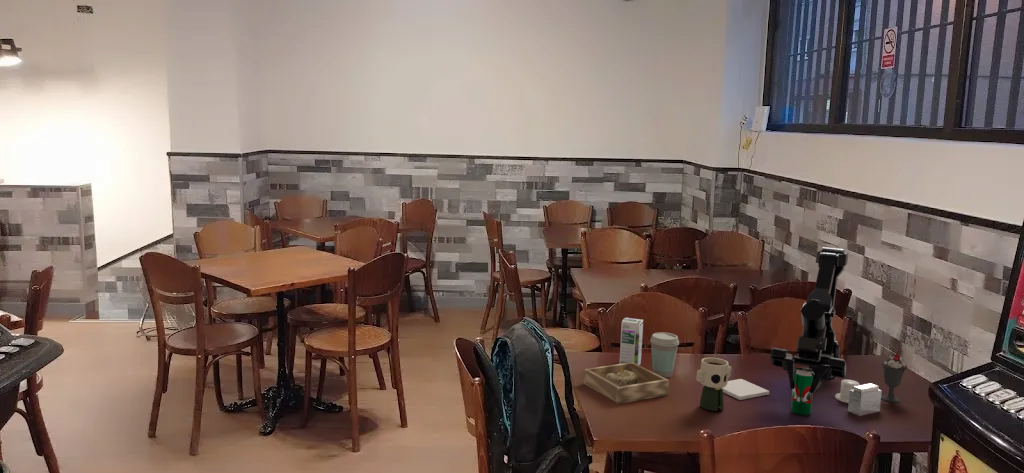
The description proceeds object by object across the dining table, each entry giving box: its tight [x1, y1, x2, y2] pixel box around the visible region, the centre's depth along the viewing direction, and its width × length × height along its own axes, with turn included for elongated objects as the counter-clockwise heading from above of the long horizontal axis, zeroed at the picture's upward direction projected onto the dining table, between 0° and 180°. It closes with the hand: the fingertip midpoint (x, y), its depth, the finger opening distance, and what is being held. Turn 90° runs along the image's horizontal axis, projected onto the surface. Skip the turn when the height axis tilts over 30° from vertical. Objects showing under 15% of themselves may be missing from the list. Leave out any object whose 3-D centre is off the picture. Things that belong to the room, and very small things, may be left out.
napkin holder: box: [847, 382, 883, 417], centre depth 203 cm, size 8×4×7 cm, turn 117°
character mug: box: [696, 357, 732, 412], centre depth 201 cm, size 11×7×13 cm, turn 113°
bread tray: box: [583, 362, 670, 405], centre depth 214 cm, size 17×17×4 cm
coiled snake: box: [606, 368, 639, 387], centre depth 215 cm, size 10×10×5 cm
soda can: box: [790, 366, 815, 417], centre depth 200 cm, size 5×5×12 cm
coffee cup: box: [650, 332, 680, 379], centre depth 227 cm, size 8×8×12 cm
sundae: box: [880, 349, 908, 404], centre depth 212 cm, size 7×7×15 cm
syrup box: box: [618, 317, 644, 366], centre depth 235 cm, size 6×6×14 cm
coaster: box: [722, 378, 770, 401], centre depth 216 cm, size 11×11×1 cm
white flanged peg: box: [834, 379, 860, 404], centre depth 212 cm, size 7×7×5 cm
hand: (801, 390), depth 199 cm, fingers closed on soda can, 5 cm apart
